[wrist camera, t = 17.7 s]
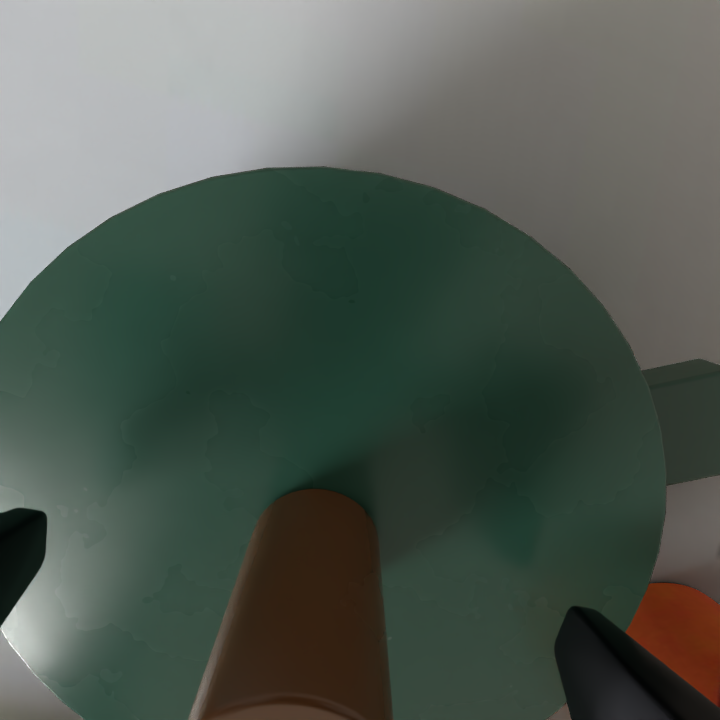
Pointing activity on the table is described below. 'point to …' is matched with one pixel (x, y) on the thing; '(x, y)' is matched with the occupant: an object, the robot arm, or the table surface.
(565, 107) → the table surface
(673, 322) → the table surface
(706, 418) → the pot
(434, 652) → the pot lid
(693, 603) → the paper cup
